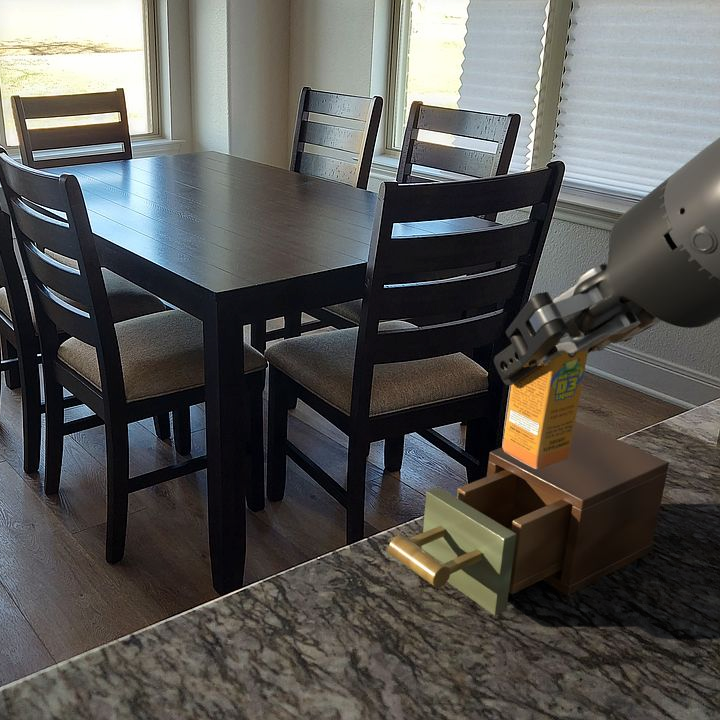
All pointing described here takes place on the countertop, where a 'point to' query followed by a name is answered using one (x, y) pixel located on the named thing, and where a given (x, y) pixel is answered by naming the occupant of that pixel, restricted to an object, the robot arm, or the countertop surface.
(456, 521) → the drawer
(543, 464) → the supplement box
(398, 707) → the countertop surface
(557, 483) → the cabinet
